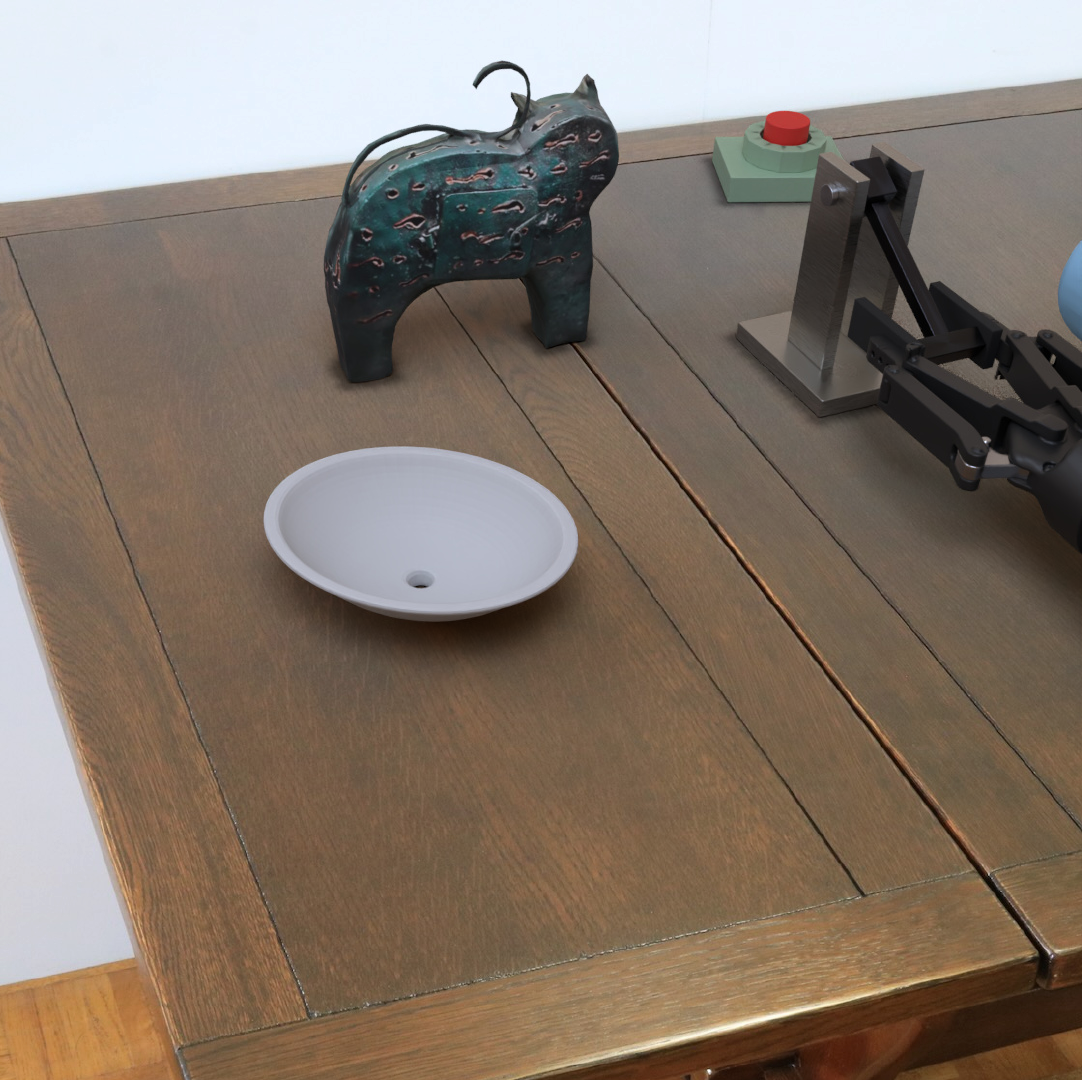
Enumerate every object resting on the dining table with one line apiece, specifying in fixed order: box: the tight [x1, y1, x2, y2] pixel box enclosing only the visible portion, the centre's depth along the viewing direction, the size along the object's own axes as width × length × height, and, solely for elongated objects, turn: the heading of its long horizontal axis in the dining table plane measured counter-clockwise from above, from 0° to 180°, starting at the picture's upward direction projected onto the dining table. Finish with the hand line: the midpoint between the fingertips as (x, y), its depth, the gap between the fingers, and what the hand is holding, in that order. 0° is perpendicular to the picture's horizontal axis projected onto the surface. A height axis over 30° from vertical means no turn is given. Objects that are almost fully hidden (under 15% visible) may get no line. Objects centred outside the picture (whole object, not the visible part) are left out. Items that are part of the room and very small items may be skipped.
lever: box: [849, 156, 986, 366], centre depth 95 cm, size 14×5×2 cm
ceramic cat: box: [323, 60, 620, 383], centre depth 100 cm, size 20×6×20 cm, turn 110°
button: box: [763, 110, 811, 146], centre depth 125 cm, size 4×4×2 cm
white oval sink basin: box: [263, 445, 579, 622], centre depth 85 cm, size 18×14×5 cm
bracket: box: [735, 141, 926, 418], centre depth 101 cm, size 11×9×15 cm
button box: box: [711, 119, 845, 203], centre depth 126 cm, size 10×8×4 cm
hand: (894, 309), depth 97 cm, fingers closed on lever, 5 cm apart
